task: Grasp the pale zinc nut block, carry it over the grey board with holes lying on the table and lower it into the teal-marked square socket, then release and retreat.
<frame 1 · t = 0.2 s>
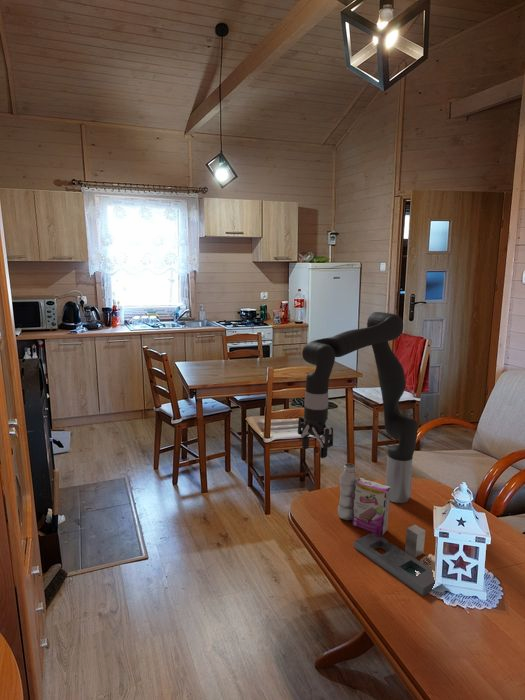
hand: (314, 452, 149), 29 cm above the table, fingers open, 8 cm apart
candy bar box: (369, 528, 159), on the table
grey board with holes: (395, 564, 140), on the table
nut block: (414, 552, 146), on the table
plastic bottle: (346, 518, 165), on the table
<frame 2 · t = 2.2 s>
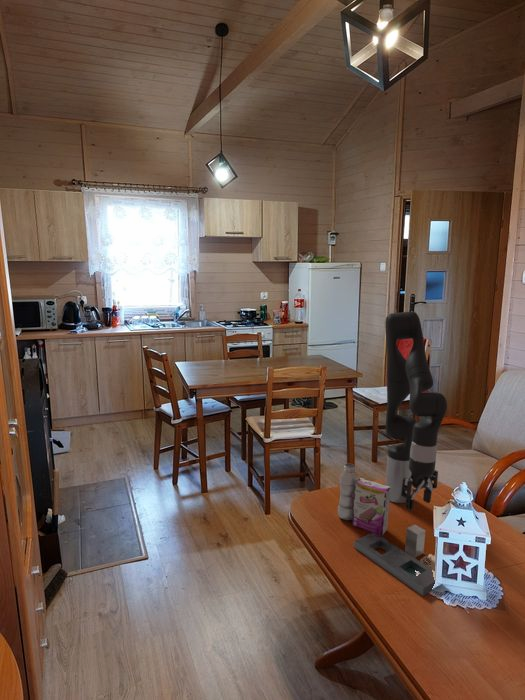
hand: (417, 505, 143), 16 cm above the table, fingers open, 8 cm apart
nothing on the table moved.
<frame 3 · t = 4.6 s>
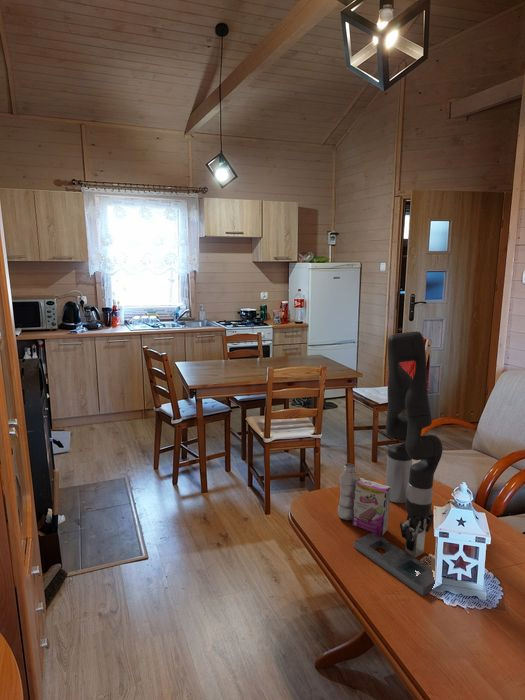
hand: (414, 547, 146), 2 cm above the table, fingers closed on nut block, 4 cm apart
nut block: (414, 552, 146), on the table, touching gripper
everything else where it was.
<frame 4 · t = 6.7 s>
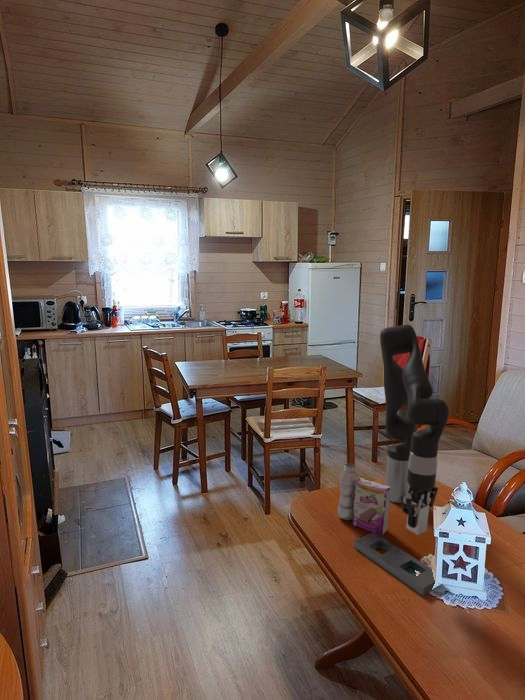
hand: (416, 523, 132), 17 cm above the table, fingers closed on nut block, 4 cm apart
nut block: (416, 529, 132), point 15 cm above the table, touching gripper
everything else where it was.
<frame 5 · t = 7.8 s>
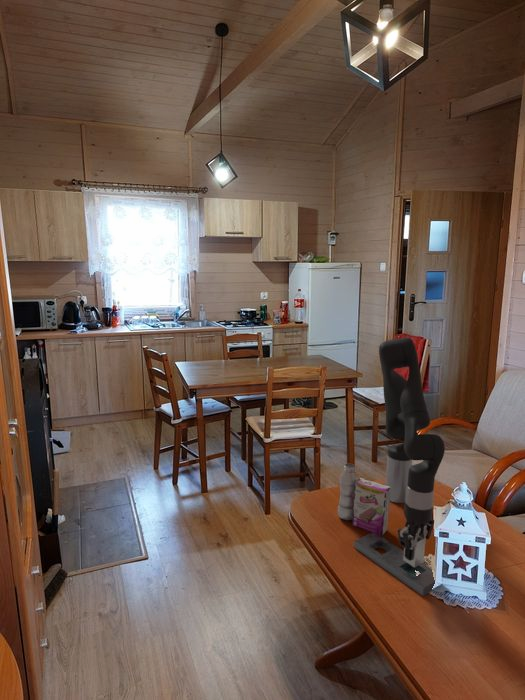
hand: (413, 555, 134), 7 cm above the table, fingers closed on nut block, 4 cm apart
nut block: (413, 561, 134), point 5 cm above the table, touching gripper
everything else where it was.
when the fingers open (3 cm above the table, at t = 8.9 s): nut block drops 1 cm, resting on grey board with holes.
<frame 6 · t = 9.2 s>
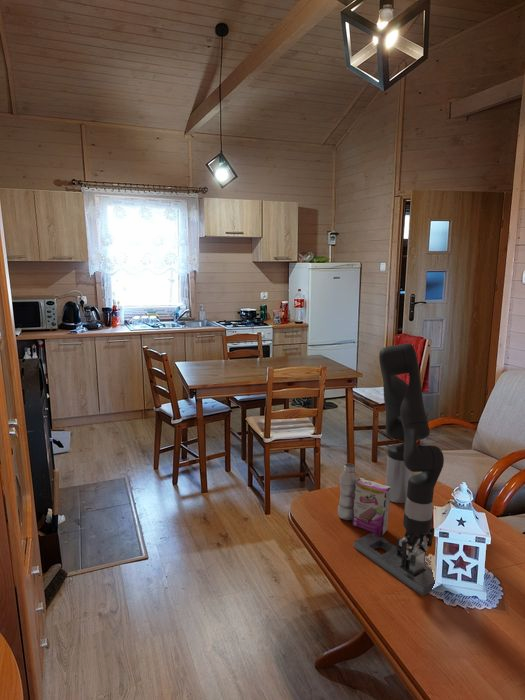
hand: (413, 564, 134), 4 cm above the table, fingers open, 6 cm apart
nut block: (412, 575, 135), resting on grey board with holes
everything else where it was.
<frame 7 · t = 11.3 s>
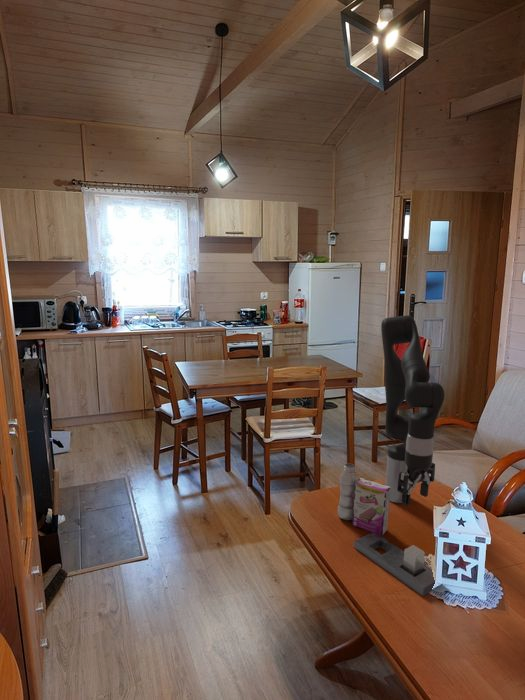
hand: (414, 500, 137), 21 cm above the table, fingers open, 8 cm apart
nothing on the table moved.
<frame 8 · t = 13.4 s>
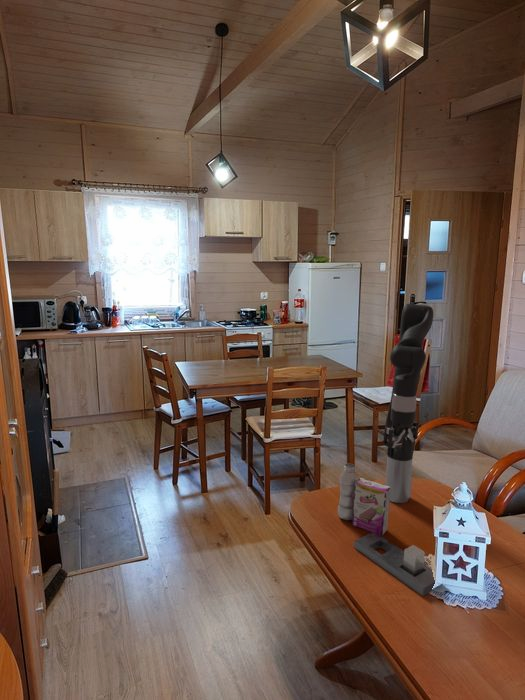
hand: (399, 454, 151), 28 cm above the table, fingers open, 8 cm apart
nothing on the table moved.
at the end: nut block 0.1 cm from the target spot on the grey board with holes, point 0.2 cm above the grey board with holes's base; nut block tilted 0°; the gripper is holding nothing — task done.
